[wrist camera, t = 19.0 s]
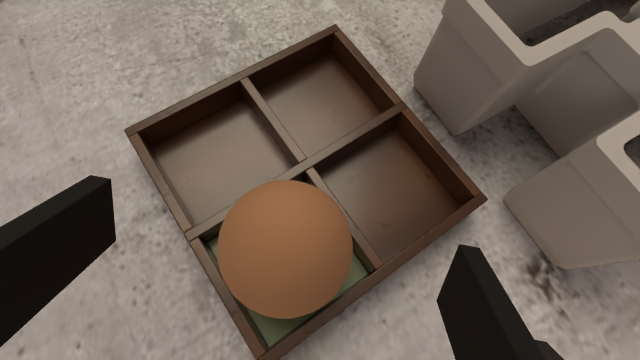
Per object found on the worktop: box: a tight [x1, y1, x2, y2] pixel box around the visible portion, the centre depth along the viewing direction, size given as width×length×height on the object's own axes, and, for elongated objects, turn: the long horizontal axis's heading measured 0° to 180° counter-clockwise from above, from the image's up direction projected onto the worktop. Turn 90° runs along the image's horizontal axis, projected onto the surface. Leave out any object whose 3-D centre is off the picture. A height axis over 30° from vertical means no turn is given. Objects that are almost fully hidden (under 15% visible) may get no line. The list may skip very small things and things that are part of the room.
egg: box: [217, 180, 353, 319], centre depth 17 cm, size 6×6×8 cm
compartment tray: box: [124, 24, 488, 360], centre depth 22 cm, size 16×16×3 cm
